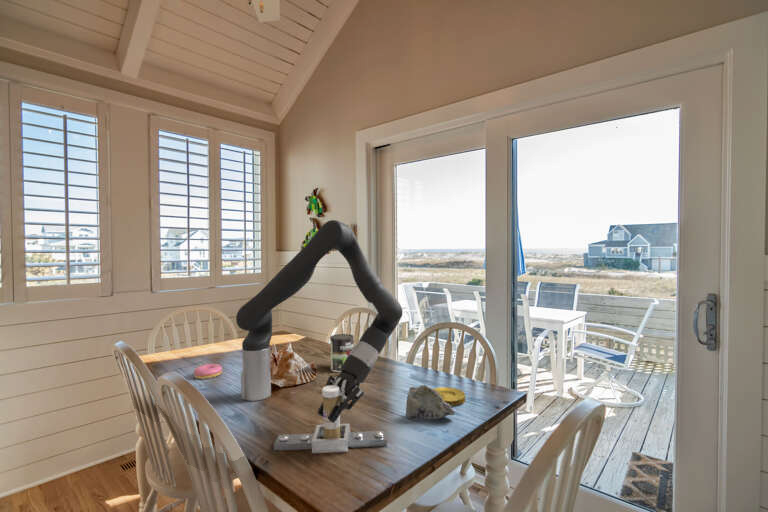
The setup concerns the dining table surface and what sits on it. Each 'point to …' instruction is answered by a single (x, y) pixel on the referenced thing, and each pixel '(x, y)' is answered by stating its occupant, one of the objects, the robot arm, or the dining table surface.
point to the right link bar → (367, 439)
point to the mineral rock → (426, 404)
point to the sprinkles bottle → (329, 402)
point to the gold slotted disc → (451, 395)
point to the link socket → (330, 440)
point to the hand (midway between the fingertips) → (325, 417)
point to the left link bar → (293, 442)
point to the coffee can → (340, 350)
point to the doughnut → (208, 371)
